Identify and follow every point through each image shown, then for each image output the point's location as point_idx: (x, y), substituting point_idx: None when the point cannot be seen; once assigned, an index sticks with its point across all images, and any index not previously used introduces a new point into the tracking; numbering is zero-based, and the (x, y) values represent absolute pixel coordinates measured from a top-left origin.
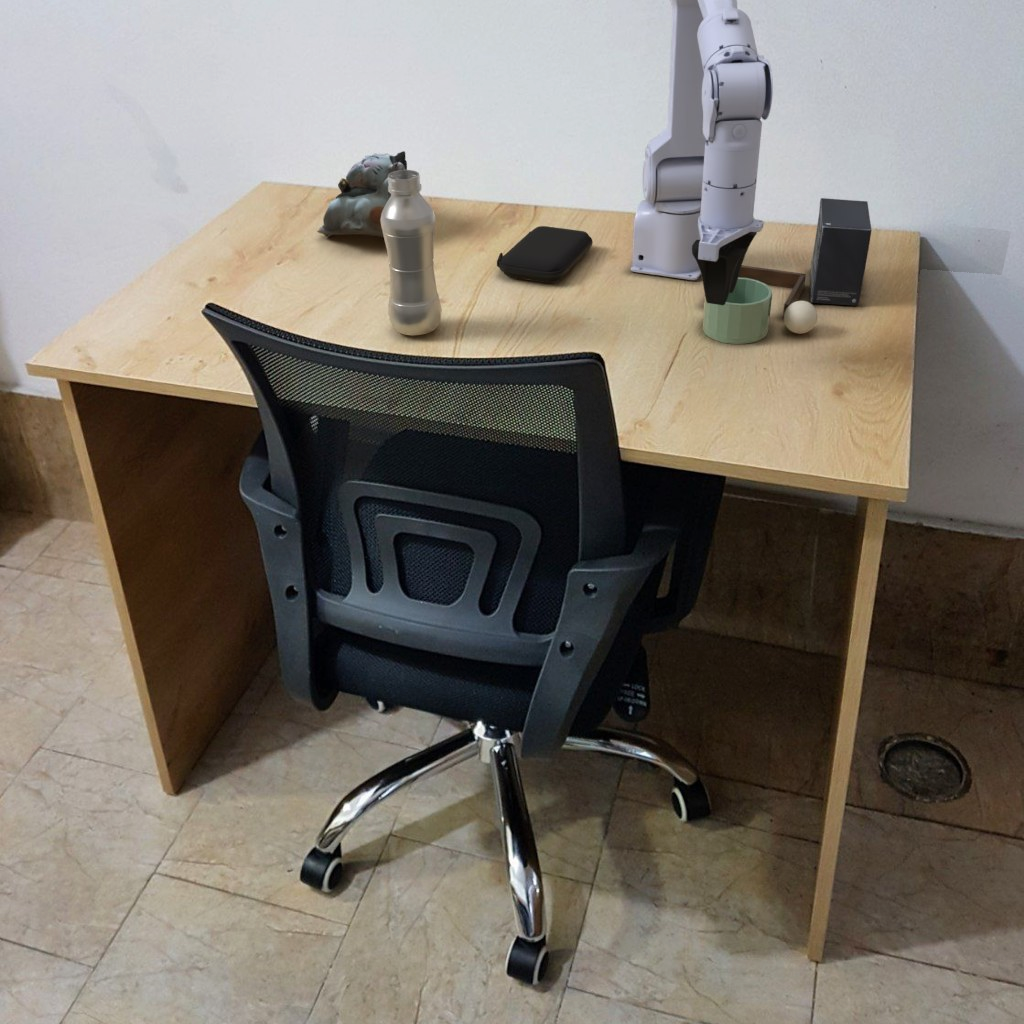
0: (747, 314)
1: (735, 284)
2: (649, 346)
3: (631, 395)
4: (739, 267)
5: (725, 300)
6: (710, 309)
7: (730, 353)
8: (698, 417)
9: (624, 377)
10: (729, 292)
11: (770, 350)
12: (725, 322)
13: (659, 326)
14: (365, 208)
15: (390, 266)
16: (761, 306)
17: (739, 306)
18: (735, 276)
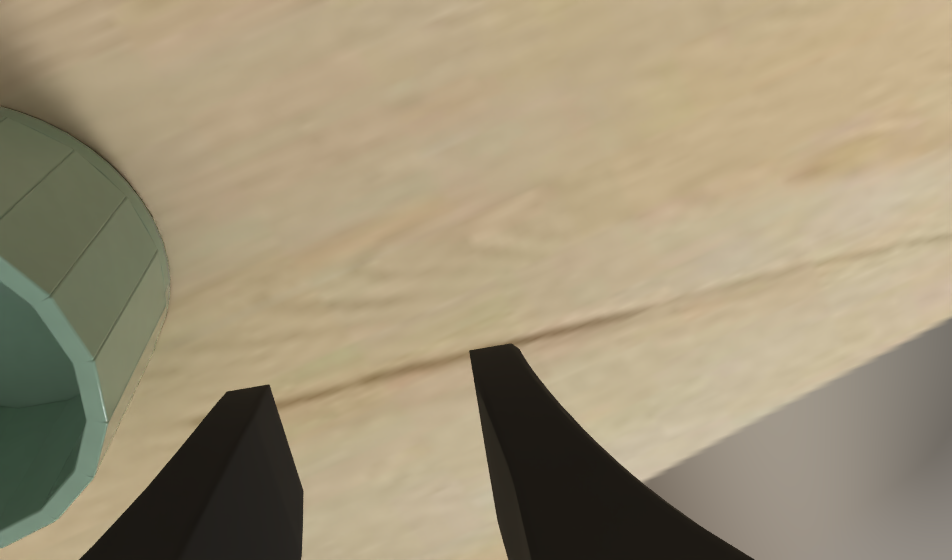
0: (38, 232)
1: (236, 417)
2: (393, 477)
3: (805, 355)
4: (199, 525)
5: (525, 359)
6: (117, 426)
7: (249, 178)
8: (915, 44)
9: (678, 435)
10: (274, 402)
11: (77, 3)
12: (135, 308)
13: None
14: None
15: None
16: None
17: (64, 302)
18: (235, 474)
